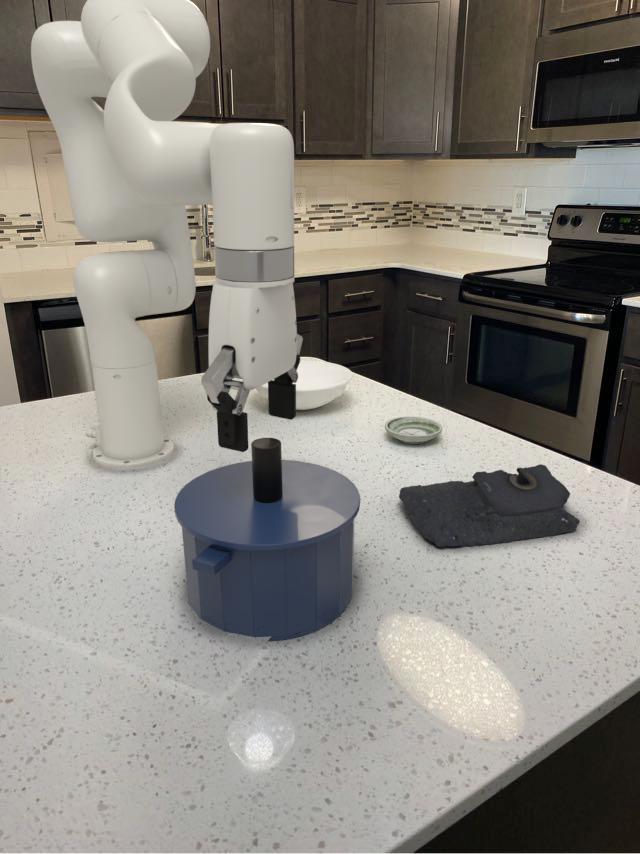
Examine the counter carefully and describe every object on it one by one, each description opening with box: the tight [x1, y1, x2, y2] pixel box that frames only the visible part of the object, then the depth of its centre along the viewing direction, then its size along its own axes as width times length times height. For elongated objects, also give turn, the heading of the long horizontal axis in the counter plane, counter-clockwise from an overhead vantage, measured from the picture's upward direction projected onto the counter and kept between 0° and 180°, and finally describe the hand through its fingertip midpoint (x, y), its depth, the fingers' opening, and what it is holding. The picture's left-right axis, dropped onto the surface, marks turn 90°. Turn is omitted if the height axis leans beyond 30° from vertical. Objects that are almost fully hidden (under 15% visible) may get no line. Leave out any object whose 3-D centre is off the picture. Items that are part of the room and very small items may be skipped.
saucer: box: [384, 415, 443, 445], centre depth 112 cm, size 10×10×2 cm
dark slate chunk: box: [398, 464, 581, 548], centre depth 87 cm, size 15×22×5 cm
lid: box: [173, 437, 361, 550], centre depth 68 cm, size 19×19×7 cm
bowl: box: [255, 359, 354, 411], centre depth 128 cm, size 20×20×6 cm
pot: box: [181, 519, 355, 642], centre depth 70 cm, size 18×23×10 cm
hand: (259, 431), depth 70 cm, fingers open, 9 cm apart
